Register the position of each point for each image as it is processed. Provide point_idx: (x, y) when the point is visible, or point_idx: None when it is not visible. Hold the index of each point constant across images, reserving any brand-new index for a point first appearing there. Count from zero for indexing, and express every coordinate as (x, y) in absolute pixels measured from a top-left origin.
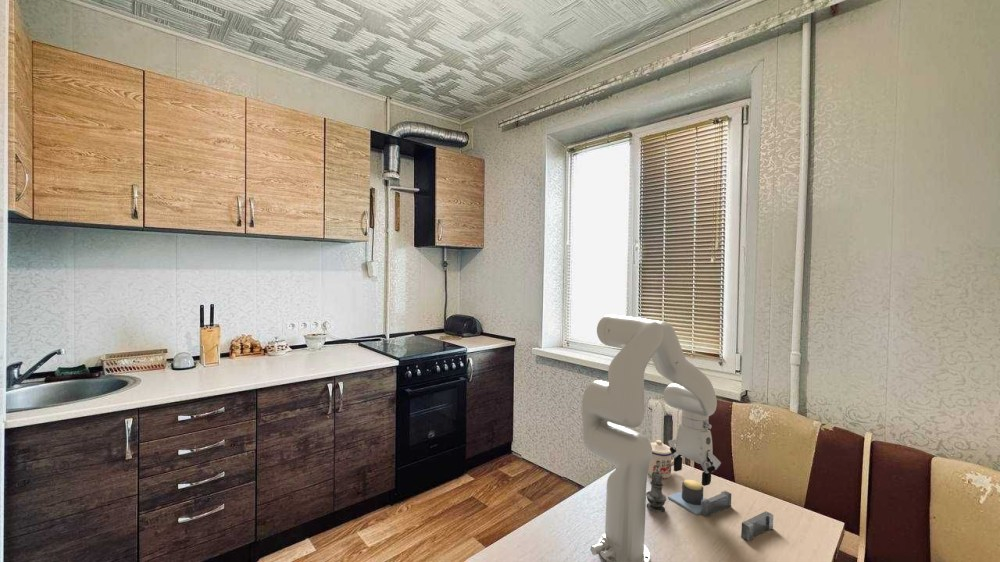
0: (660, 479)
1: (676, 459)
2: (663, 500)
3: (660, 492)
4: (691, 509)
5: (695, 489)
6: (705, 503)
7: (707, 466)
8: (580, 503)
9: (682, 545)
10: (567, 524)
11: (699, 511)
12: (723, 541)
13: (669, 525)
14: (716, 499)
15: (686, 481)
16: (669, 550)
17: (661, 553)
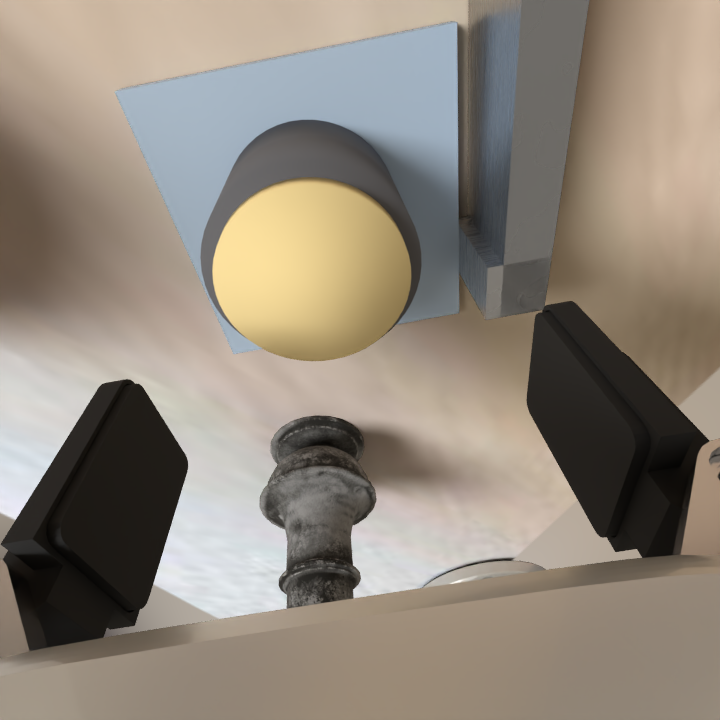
0: None
1: (127, 610)
2: (370, 497)
3: (350, 535)
4: (416, 315)
5: (393, 312)
6: (524, 309)
7: (695, 550)
8: (230, 609)
9: (558, 479)
10: None
11: (456, 282)
12: (671, 334)
13: (451, 461)
14: (560, 172)
15: (252, 313)
16: (545, 517)
17: (538, 535)
